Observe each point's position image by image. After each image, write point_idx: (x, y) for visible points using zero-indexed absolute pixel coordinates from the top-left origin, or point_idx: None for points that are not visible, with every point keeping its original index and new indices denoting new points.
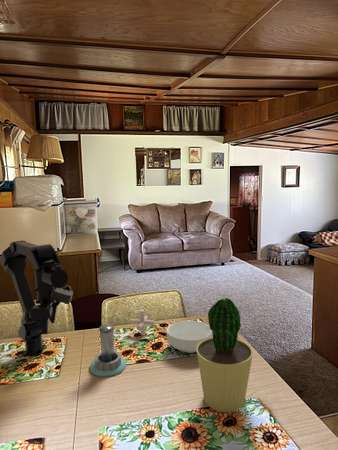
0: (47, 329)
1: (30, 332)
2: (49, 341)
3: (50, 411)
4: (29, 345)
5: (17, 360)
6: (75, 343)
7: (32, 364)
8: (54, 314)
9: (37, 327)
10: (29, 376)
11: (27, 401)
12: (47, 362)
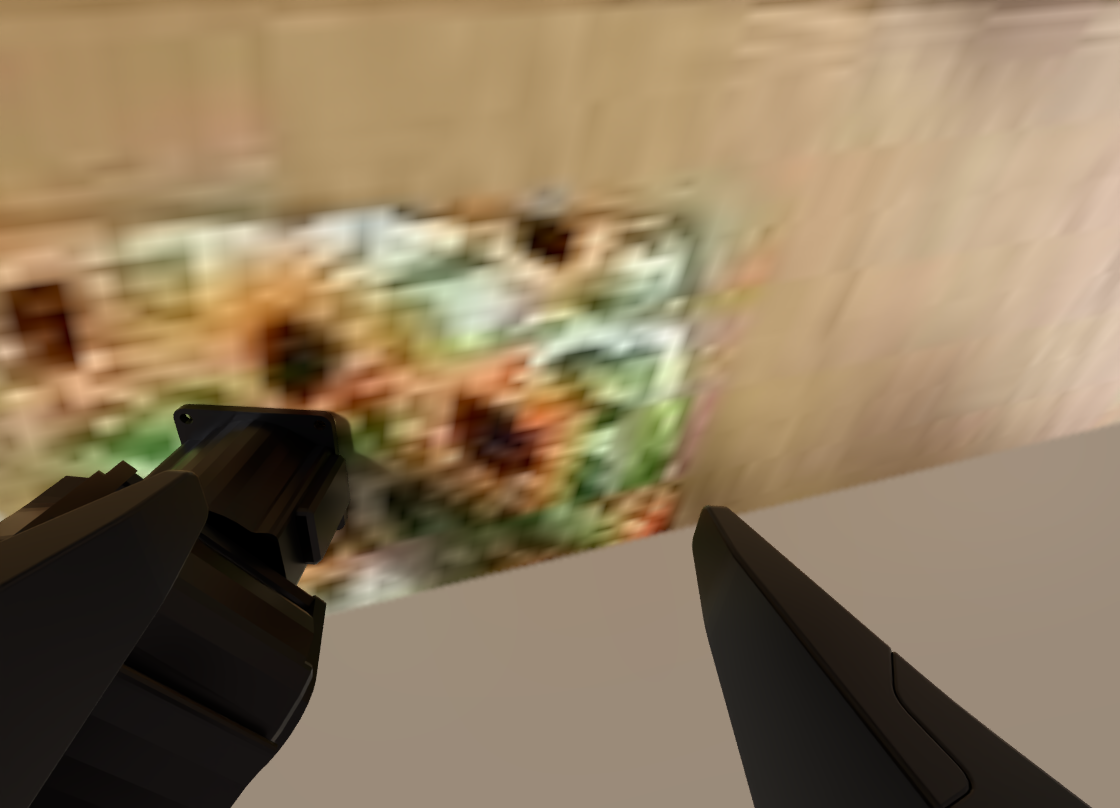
0: (786, 561)
1: (309, 637)
2: (84, 387)
3: (1097, 216)
4: (322, 536)
5: (404, 535)
6: (76, 110)
7: (471, 439)
8: (7, 603)
9: (225, 619)
10: (626, 425)
11: (903, 378)
12: (458, 341)
